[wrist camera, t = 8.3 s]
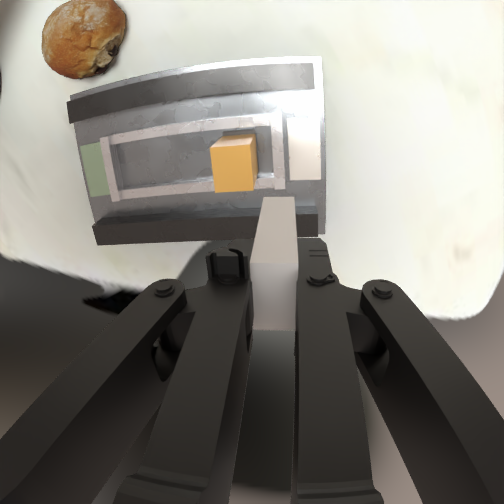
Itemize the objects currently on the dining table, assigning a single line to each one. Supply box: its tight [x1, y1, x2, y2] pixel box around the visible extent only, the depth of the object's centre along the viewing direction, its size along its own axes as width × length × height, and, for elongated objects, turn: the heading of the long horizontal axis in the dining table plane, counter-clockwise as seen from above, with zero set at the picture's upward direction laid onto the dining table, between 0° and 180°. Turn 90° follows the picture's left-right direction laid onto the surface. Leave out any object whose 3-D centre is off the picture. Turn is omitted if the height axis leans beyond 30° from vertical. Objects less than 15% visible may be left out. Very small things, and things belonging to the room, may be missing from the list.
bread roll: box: [42, 0, 126, 79], centre depth 24 cm, size 10×10×8 cm
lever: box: [210, 129, 259, 193], centre depth 27 cm, size 3×4×7 cm
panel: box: [67, 57, 326, 245], centre depth 30 cm, size 26×18×4 cm
